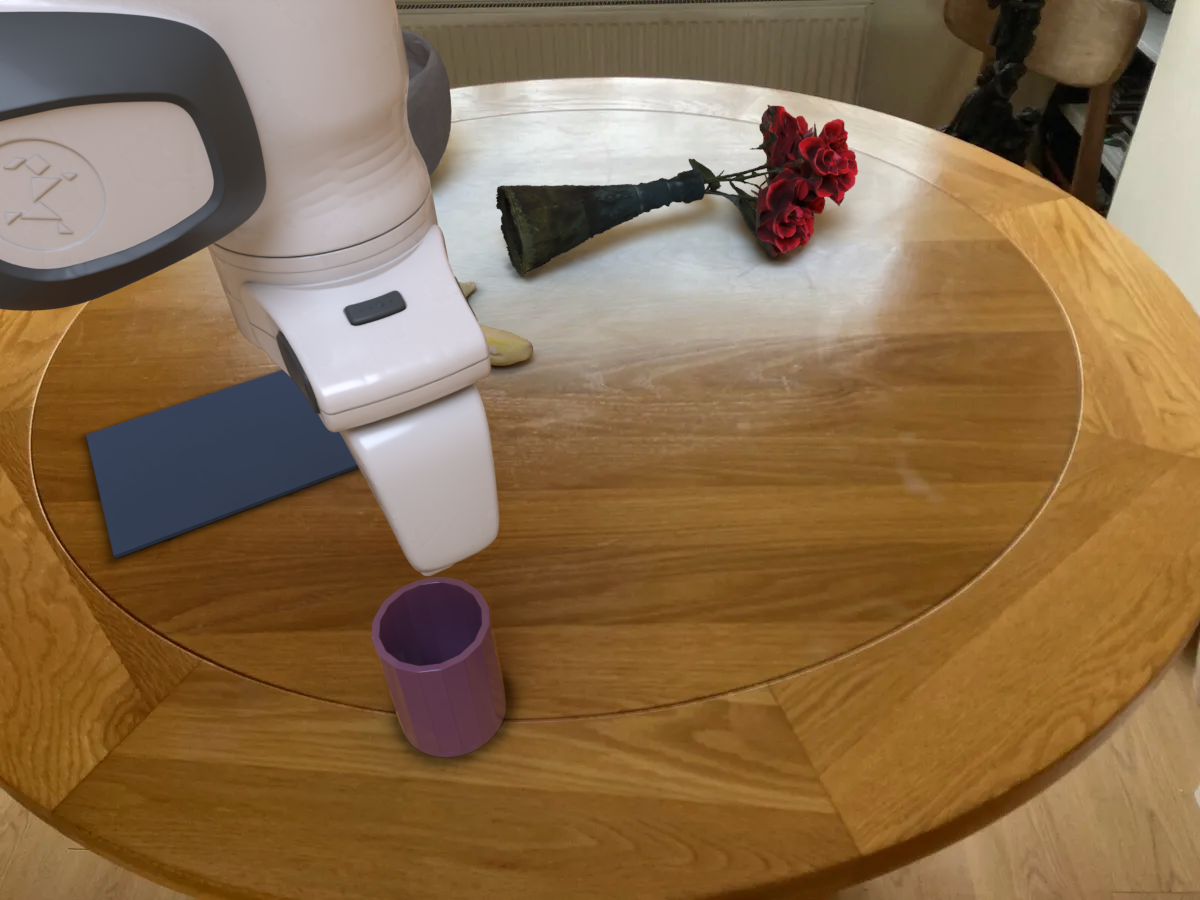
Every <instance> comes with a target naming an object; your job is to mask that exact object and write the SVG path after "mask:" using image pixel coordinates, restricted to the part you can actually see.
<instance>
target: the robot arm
mask: <svg viewBox="0 0 1200 900" xmlns="http://www.w3.org/2000/svg"><path fill="white" fill-rule="evenodd" d="M401 29H402V27H401V23H400V18H399V14H398V8H397V4H396V0H0V310H6V311H16V312H17V311H19V312H22V311H23V312H33V311H50V310H57V309H63V308H70V307H73V306H78V305H81V304H84V303H87V302H90V301H91V302H92V301H94V300H96V299H99V298H101V297H104V296H106V295H109V294H111V293H114V292H116V291H119V290H120V289H123V288H125V287H127V286H130V285H132V284H133V283H136V282H138V281H141V280H143V279H146V278H147V277H150V276H151V275H154V274H156V273H158V272H160V271H162V270H164V269H166V268H168V267H170V266H172V265H175V264H177V263H179V262H180V261H183V260H185V259H187V258H189V257H191V256H193V255H194V254H196V253H199V252H200V251H202V250H204V249H206V248H207V249H208V252H209V255H210V257H211V260H212V262H213V265H214V268H215V271H216V273H217V276H218V278H219V281H220V284H221V286H222V289H223V292H224V294H225V298H226V300H227V302H228V305H229V308H230V311H231V313H232V316H233V318H234V319H233V320H234V321H235V324H236V327H237V329H238V330H239V333H240V334H241V335H242V336H243V338H245V340H247V342H249V343H250V344H251V345H252V346H255V347H256V348H257V349H260V350H261V351H263V352H264V353H265V354H266V356H267V357H268V358H269V359H270V360H271V361H272V362H273V363H274V364H276V365H277V367H279V368H280V369H281V370H283V371H285V372H286V373H287V374H288V375H289V376H290V377H291V379H292V380H293V382H294V383H295V384H296V385H297V387H298V388H299V389H300V390H301V392H302V393H303V395H304V396H305V398H306V399H307V401H308V402H309V404H310V405H311V407H312V409H313V410H314V412H315V413H318V415H319V416H320V418H321V420H322V422H323V424H324V425H325V427H326V428H327V429H328V430H329V431H331V432H340V434H341V436H342V437H343V439H344V441H345V443H346V445H347V447H348V449H349V450H350V452H351V454H352V456H353V458H354V460H355V462H356V463H357V465H358V467H359V468H358V469H359V472H360V473H361V474H362V476H363V479H364V480H365V482H366V484H367V485H368V488H369V489H370V492H371V494H372V495H373V497H374V499H375V500H376V503H377V504H378V506H379V509H380V510H381V512H382V513H383V515H384V517H385V519H386V521H387V523H388V525H389V527H390V529H391V531H392V533H393V535H394V537H395V539H396V541H397V543H398V545H399V547H400V549H401V551H402V552H403V554H404V556H405V558H406V560H407V561H408V563H409V565H411V567H412V568H413V569H414V571H416V572H418V573H420V574H421V575H423V576H424V577H431V576H433V575H436V574H439V573H440V572H442V571H445V570H447V569H450V568H451V567H453V566H454V565H455V564H456V563H459V562H462V561H464V560H466V559H468V558H470V557H472V556H474V555H476V554H478V553H480V552H482V551H484V550H485V549H487V548H488V547H490V545H491V544H492V543H493V542H494V541H495V540H496V539H497V537H498V535H499V530H500V507H499V499H498V498H499V496H498V487H497V486H498V485H497V478H496V477H497V476H496V467H495V459H494V452H493V451H494V450H493V444H492V443H493V442H492V438H491V437H492V436H491V431H490V430H491V429H490V426H489V421H488V417H487V413H486V409H485V405H484V402H483V398H482V396H481V393H480V390H479V387H478V386H477V382H479V381H481V380H483V379H485V378H487V377H489V376H490V374H491V372H492V371H491V370H492V365H491V362H490V356H489V349H488V344H487V340H486V337H485V335H484V332H483V330H482V328H481V326H480V324H481V323H479V321H478V317H477V315H476V314H475V311H474V310H473V308H472V306H471V304H470V303H469V301H468V299H467V297H465V295H464V293H463V291H462V289H461V286H460V284H459V282H460V281H458V280H459V279H458V278H457V277H456V276H455V274H454V272H453V269H452V267H451V264H450V261H449V255H448V249H447V244H446V239H445V235H444V232H443V230H442V228H441V227H440V225H439V222H438V216H437V210H436V205H435V201H434V200H435V199H434V195H433V190H432V185H431V180H430V179H431V178H430V176H429V174H428V170H427V167H426V164H425V162H424V160H423V158H422V156H421V154H420V152H419V150H418V148H417V146H416V145H415V142H414V140H413V138H412V135H411V132H410V129H409V124H408V119H407V95H408V86H409V68H408V61H407V57H406V52H405V47H404V42H403V37H402V32H401Z"/></svg>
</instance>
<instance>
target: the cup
mask: <svg viewBox="0 0 1200 900" xmlns="http://www.w3.org/2000/svg"><path fill="white" fill-rule="evenodd" d="M371 624H372V625H371V637H370V638H371V643H372V645H373V648H374V651H375V655H376V657H377V660H378V663H379V667H380V669H381V672H382V675H383V679H384V682H385V684H386V687H387V690H388V693H389V696H390V699H391V702H392V705H393V708H394V712H395V714H396V717H397V720H398V723H399V724H400V725H399V726H400V727H401V730H402V732H403V736H404V737H405V738H406V739H407V741H408V742H409V743H410V744H411V746H413V747H414V748H415V749H417V750H418V751H419V752H422V753H424V754H426V755H429V756H432V757H436V758H437V757H438V758H454V757H455V758H456V757H460V756H461V757H462V756H464V755H467V754H470V753H472V752H475V751H476V750H478V749H480V748H481V747H483V746H484V745H486V744H487V743H488V742H489V741H491V739H492V738H493V737H494V736H495V735H496V734H497V733H498V731H499V729H500V728H501V726H502V723H503V721H504V719H505V716H506V711H507V700H506V699H507V698H506V689H505V684H504V678H503V673H502V668H501V663H500V657H499V653H498V647H497V642H496V636H495V631H494V626H493V621H492V616H491V611H490V606H489V604H488V602H487V601H486V599H485V597H484V596H483V594H482V593H481V591H480V590H479V589H478V588H475V587H474V586H472V585H471V584H469V583H468V582H466V581H465V580H462V579H456V578H452V577H448V576H437V577H436V576H435V577H427V578H421V579H418V580H415V581H413V582H411V583H408V584H406V585H404V586H400V588H398V589H397V590H396V591H394V592H393V593H392V594H391V595H390V596H388V597H387V598H386V599H385V600H383V602H382V603H381V604H380V606H379V608H378V611H377V612H376V613H375V615H374V617H373V619H372V623H371Z"/></svg>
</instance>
